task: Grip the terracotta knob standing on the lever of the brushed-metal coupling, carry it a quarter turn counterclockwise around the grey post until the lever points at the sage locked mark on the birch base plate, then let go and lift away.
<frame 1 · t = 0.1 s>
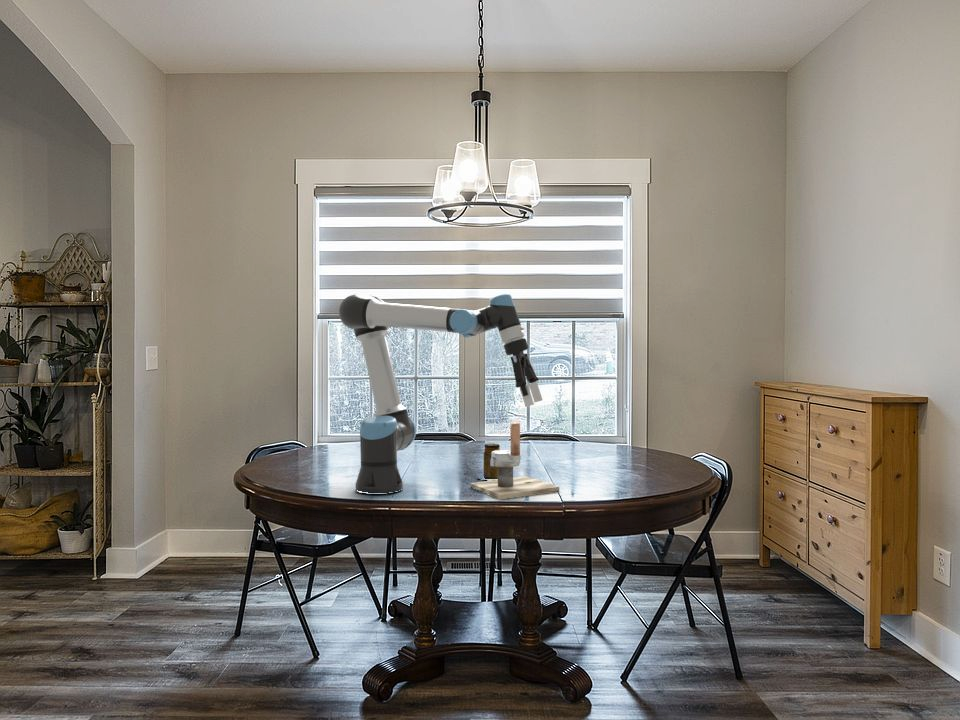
hand: (534, 403, 220), 28 cm above the table, tool tilted 20°, fingers open, 13 cm apart
condiment: (490, 479, 238), on the table
post base: (514, 489, 221), on the table
coupling: (507, 443, 218), point 15 cm above the table, hinge at 0.0°
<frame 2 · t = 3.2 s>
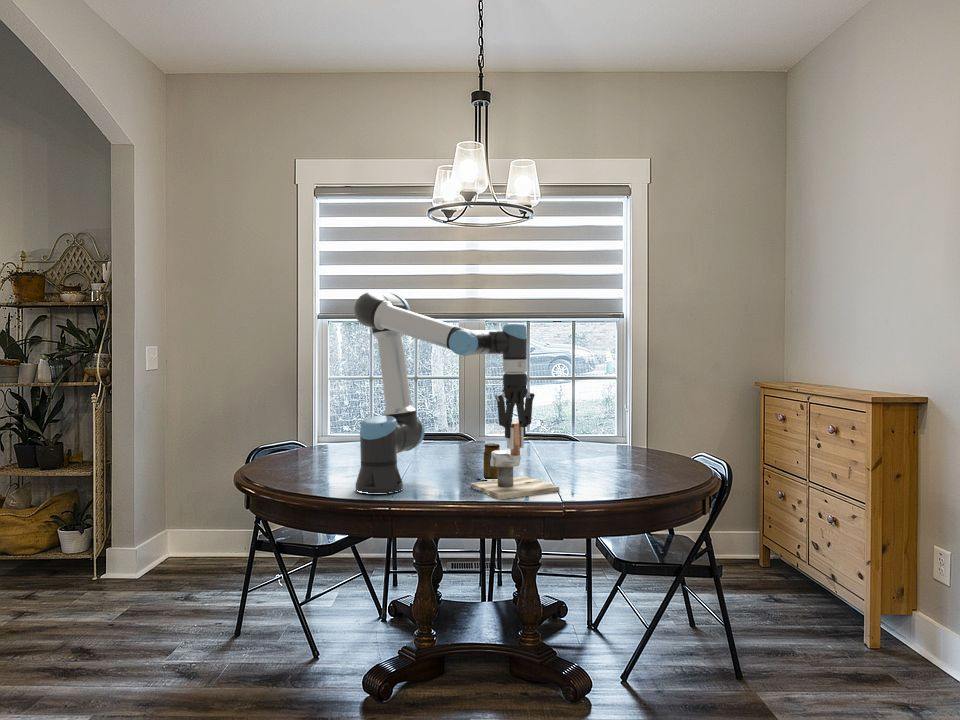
hand: (515, 447, 214), 15 cm above the table, tool pointing down, fingers closed on coupling, 3 cm apart
coupling: (507, 443, 218), point 15 cm above the table, hinge at 0.0°, touching gripper
everything else where it was.
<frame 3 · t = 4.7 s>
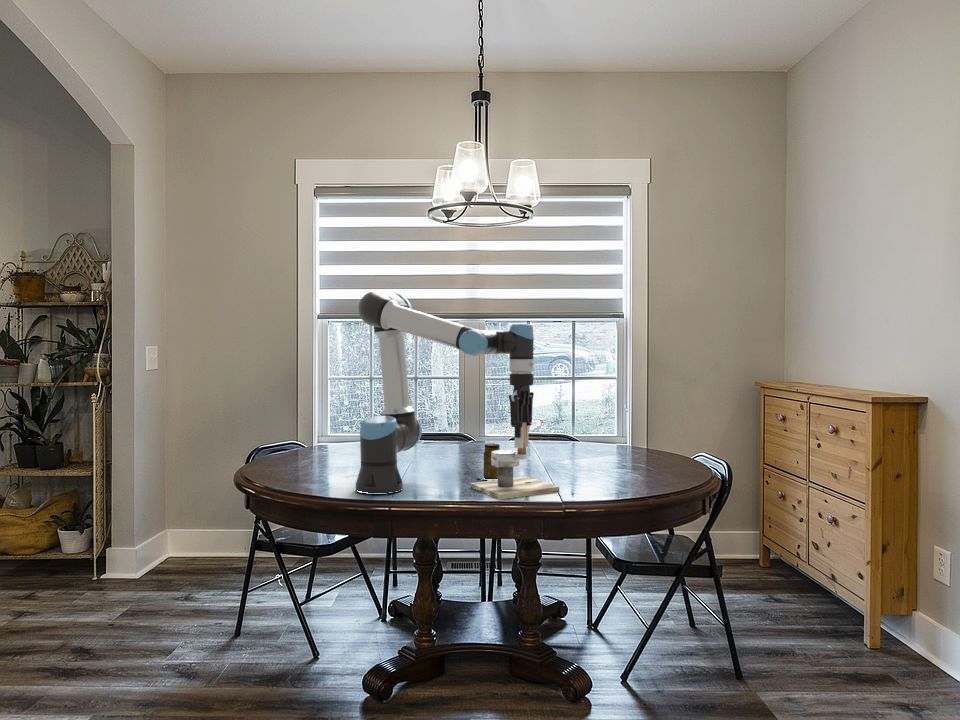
hand: (521, 446, 216), 15 cm above the table, tool pointing down, fingers closed on coupling, 3 cm apart
coupling: (509, 443, 218), point 15 cm above the table, hinge at 28.4°, touching gripper
everything else where it was.
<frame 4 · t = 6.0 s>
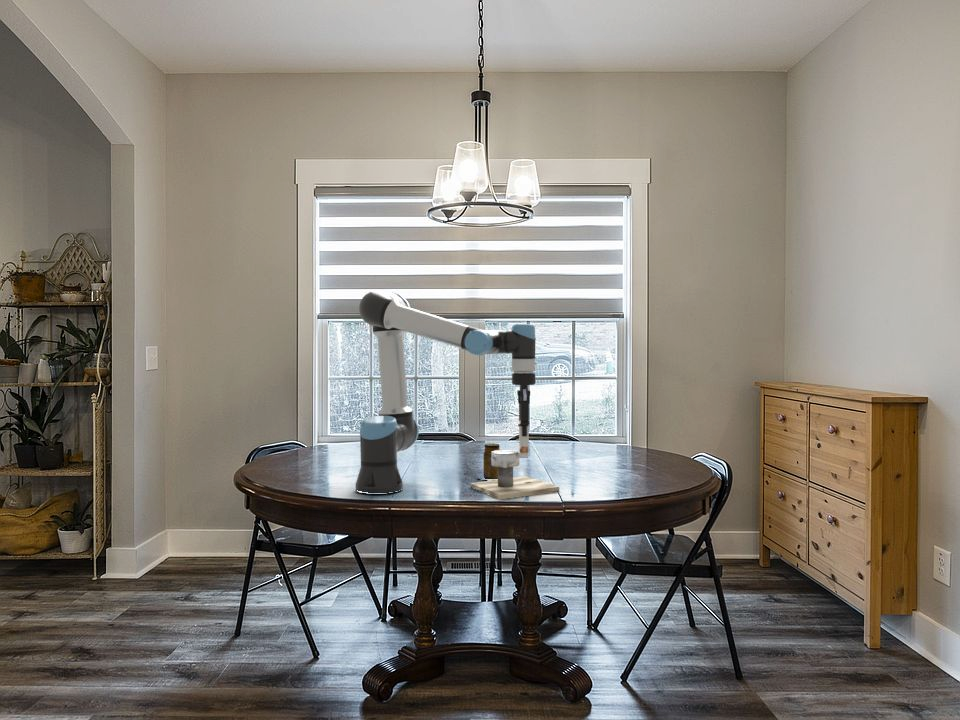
hand: (523, 445, 219), 15 cm above the table, tool pointing down, fingers closed on coupling, 3 cm apart
coupling: (509, 442, 219), point 15 cm above the table, hinge at 57.2°, touching gripper
everything else where it was.
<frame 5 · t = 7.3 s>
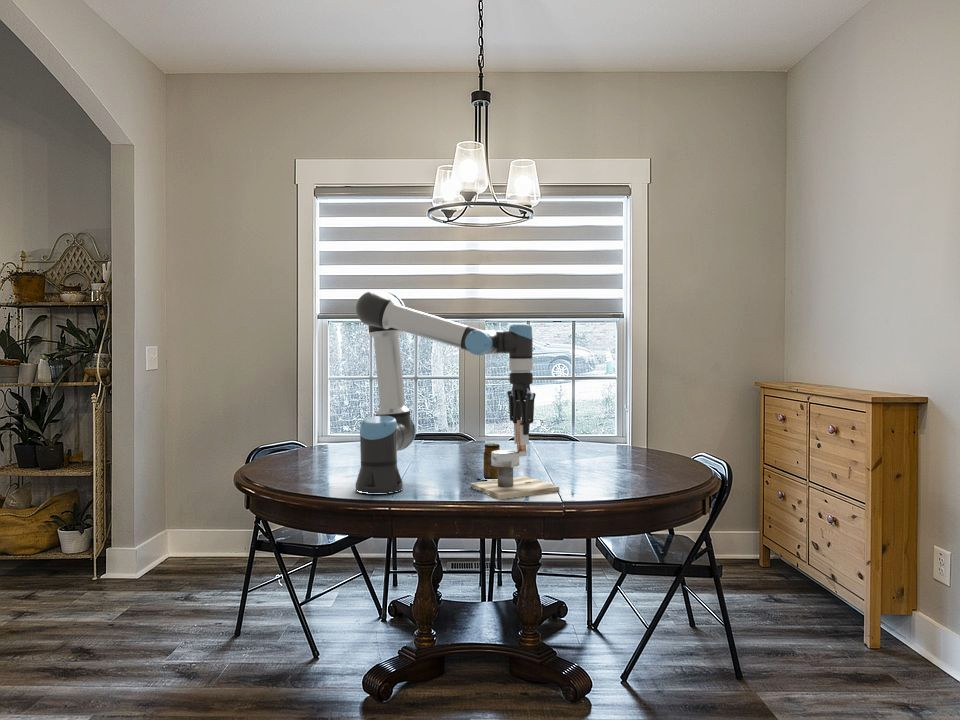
hand: (521, 443, 222), 15 cm above the table, tool pointing down, fingers closed on coupling, 3 cm apart
coupling: (509, 442, 220), point 15 cm above the table, hinge at 86.7°, touching gripper
everything else where it was.
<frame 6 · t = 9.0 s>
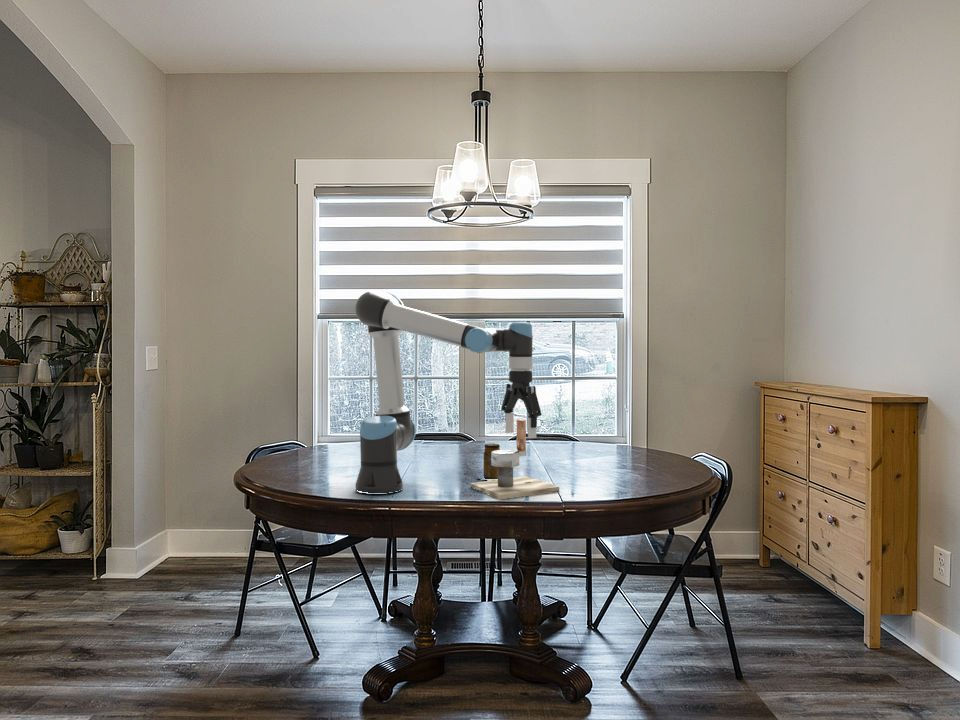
hand: (520, 435, 222), 17 cm above the table, tool pointing down, fingers open, 13 cm apart
coupling: (509, 442, 220), point 15 cm above the table, hinge at 88.8°
everything else where it was.
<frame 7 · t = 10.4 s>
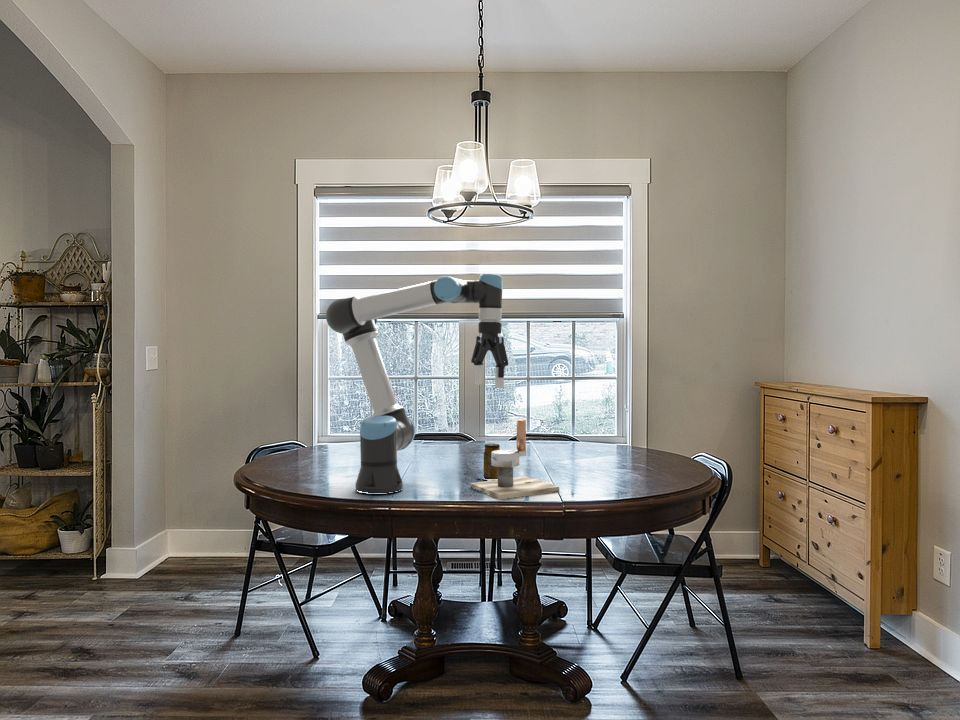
hand: (488, 386, 224), 33 cm above the table, tool pointing down, fingers open, 13 cm apart
nothing on the table moved.
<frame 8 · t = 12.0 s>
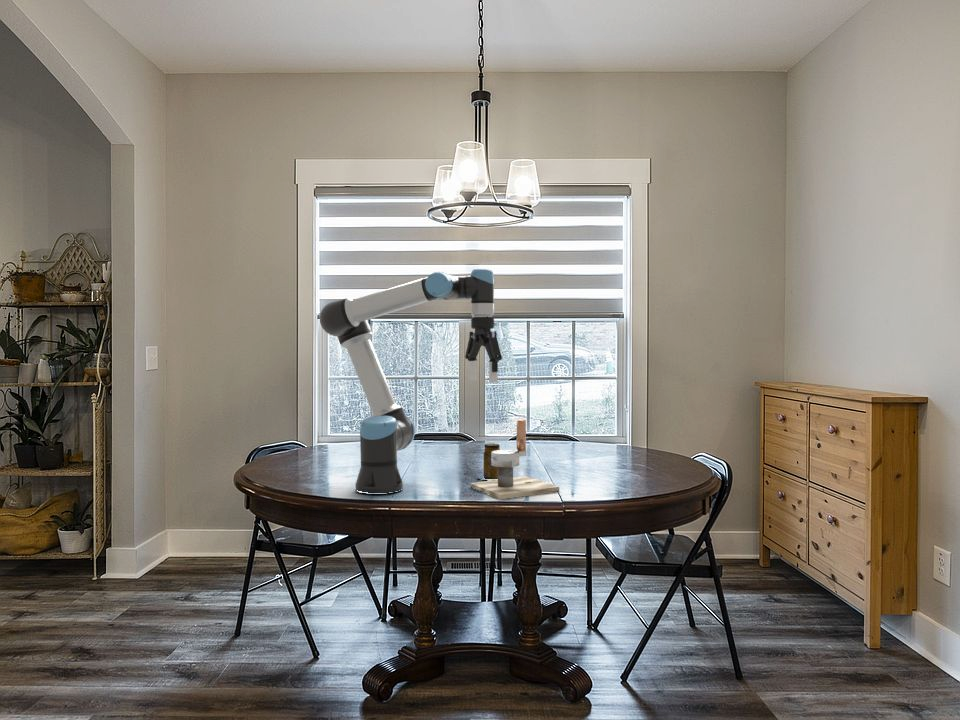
hand: (482, 381, 225), 35 cm above the table, tool pointing down, fingers open, 13 cm apart
nothing on the table moved.
at the end: coupling at +89° (first picture: +0°); the gripper is holding nothing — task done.
